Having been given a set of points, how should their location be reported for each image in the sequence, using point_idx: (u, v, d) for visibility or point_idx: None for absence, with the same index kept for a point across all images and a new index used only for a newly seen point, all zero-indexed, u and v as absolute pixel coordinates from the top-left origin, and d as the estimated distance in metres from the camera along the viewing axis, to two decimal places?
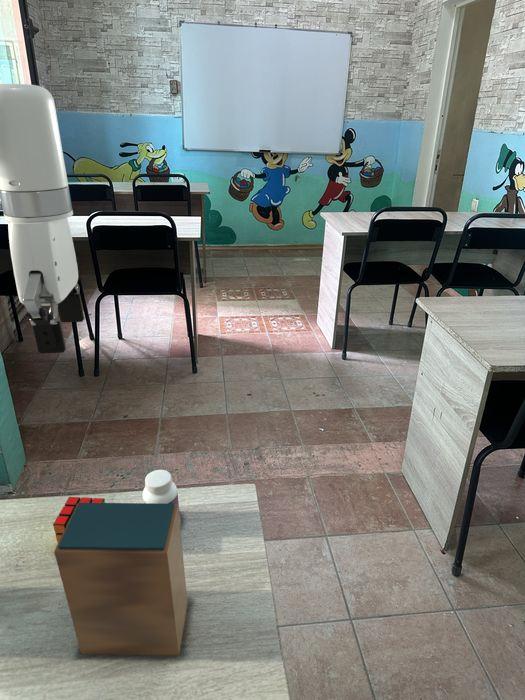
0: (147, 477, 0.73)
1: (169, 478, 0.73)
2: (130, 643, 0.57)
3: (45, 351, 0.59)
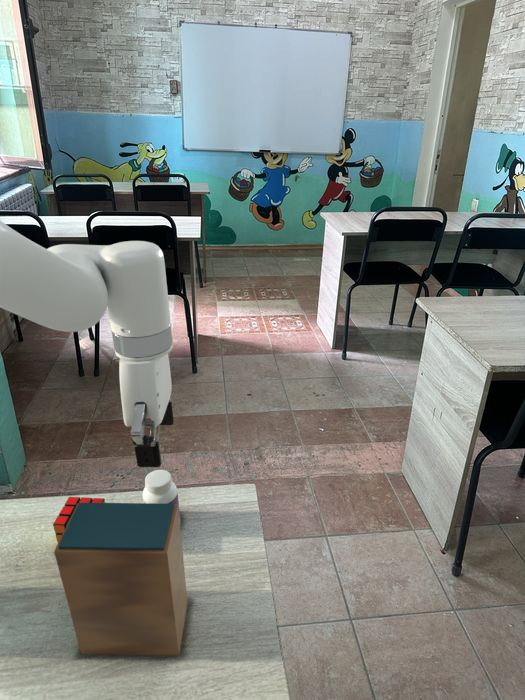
0: (147, 477, 0.73)
1: (169, 478, 0.73)
2: (130, 643, 0.57)
3: (143, 465, 0.66)
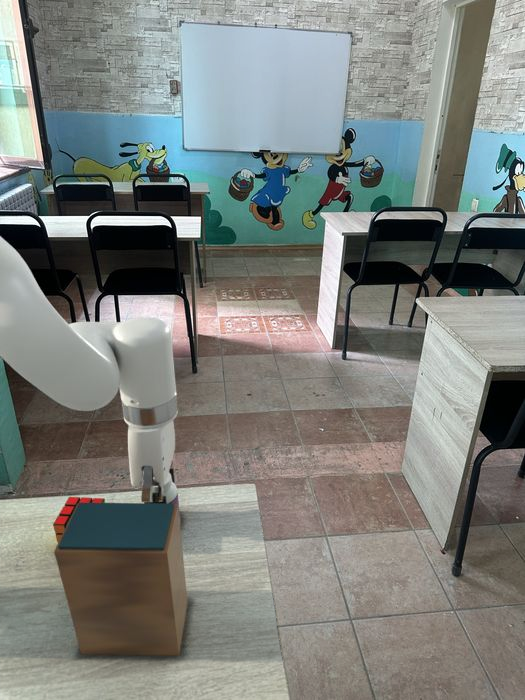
0: None
1: (169, 478, 0.73)
2: (130, 643, 0.57)
3: None
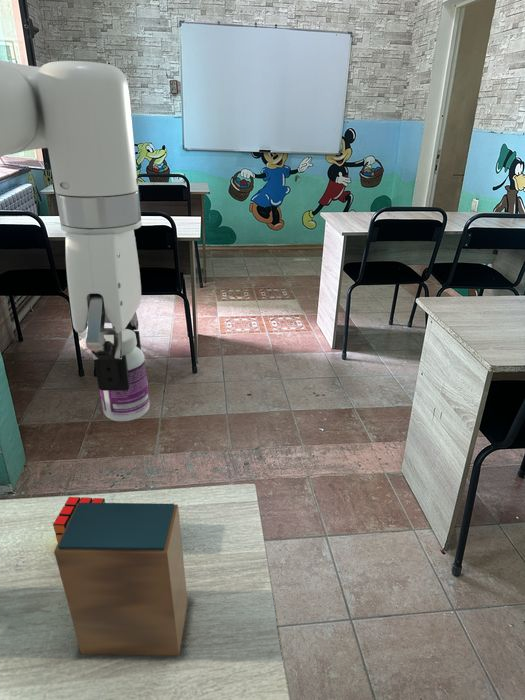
0: None
1: (132, 336, 0.52)
2: (130, 643, 0.57)
3: (106, 388, 0.51)
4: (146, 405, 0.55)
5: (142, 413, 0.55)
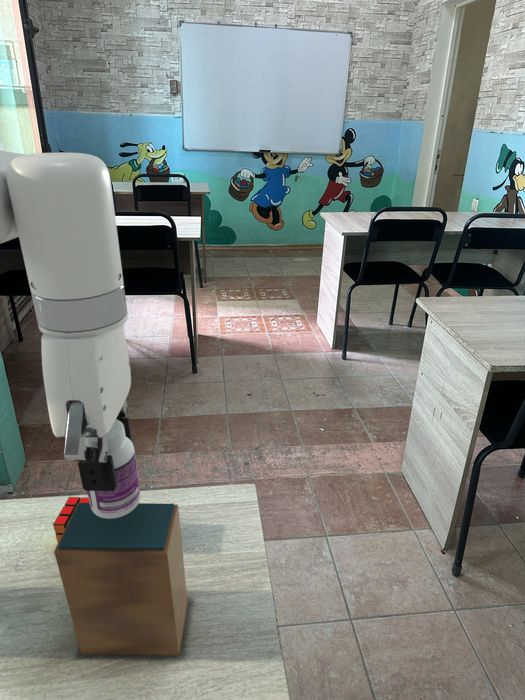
0: None
1: (120, 429, 0.48)
2: (130, 643, 0.57)
3: (91, 488, 0.47)
4: (137, 499, 0.51)
5: (132, 508, 0.50)
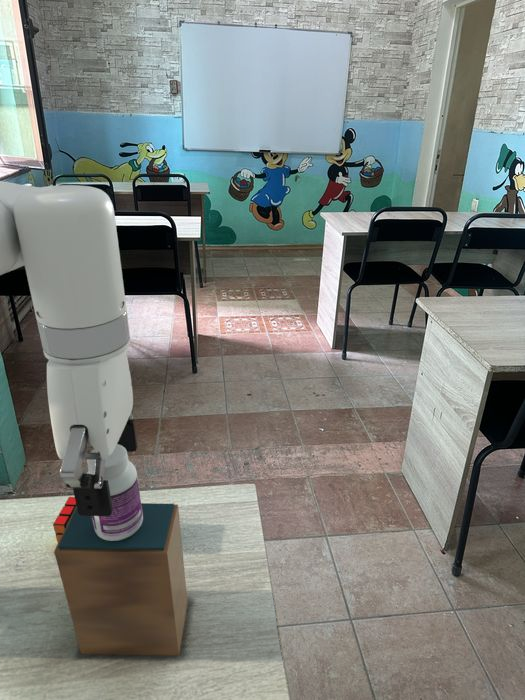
0: None
1: (123, 455, 0.49)
2: (130, 643, 0.57)
3: None
4: (139, 521, 0.52)
5: (134, 531, 0.52)
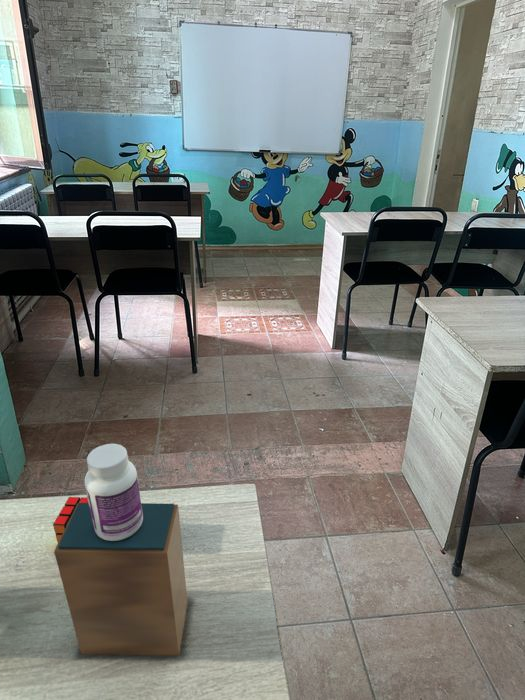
0: (91, 454, 0.49)
1: (123, 455, 0.49)
2: (130, 643, 0.57)
3: None
4: (139, 521, 0.52)
5: (134, 531, 0.52)
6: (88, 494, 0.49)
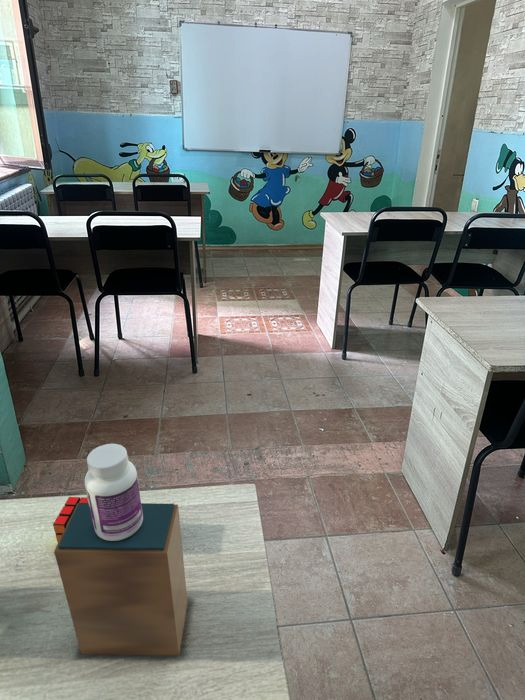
0: (91, 454, 0.49)
1: (123, 455, 0.49)
2: (130, 643, 0.57)
3: None
4: (139, 521, 0.52)
5: (134, 531, 0.52)
6: (88, 494, 0.49)
